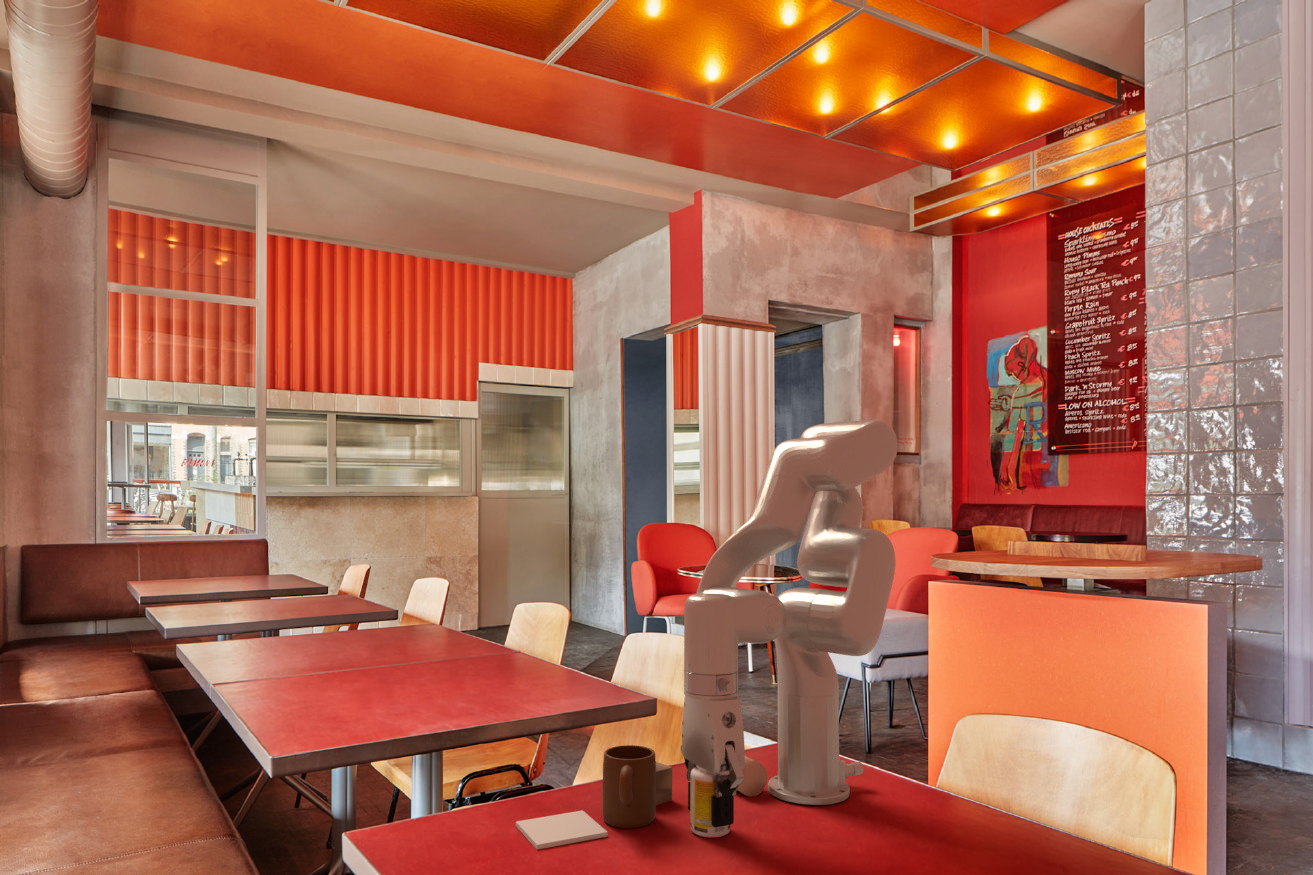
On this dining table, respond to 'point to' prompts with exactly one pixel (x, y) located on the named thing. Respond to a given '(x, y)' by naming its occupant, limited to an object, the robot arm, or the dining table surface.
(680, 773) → the dining table surface
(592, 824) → the coaster
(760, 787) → the capsule
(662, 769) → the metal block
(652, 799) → the mug
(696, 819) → the supplement bottle
